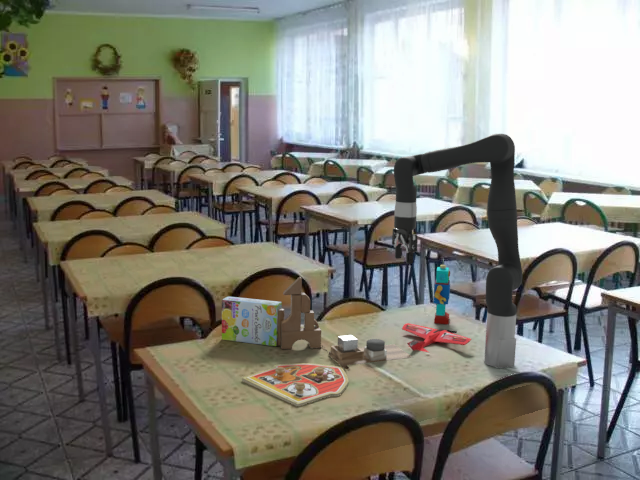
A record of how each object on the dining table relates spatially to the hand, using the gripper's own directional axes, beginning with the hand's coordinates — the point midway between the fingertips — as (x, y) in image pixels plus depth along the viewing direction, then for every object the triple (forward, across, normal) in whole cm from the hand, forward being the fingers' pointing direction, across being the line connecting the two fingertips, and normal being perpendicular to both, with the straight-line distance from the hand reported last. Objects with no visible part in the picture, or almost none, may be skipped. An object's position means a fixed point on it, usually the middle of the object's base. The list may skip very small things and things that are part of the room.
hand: (403, 260), depth 259 cm
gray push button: (+29, -13, +16) cm, 35 cm away
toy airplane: (+30, -6, -8) cm, 32 cm away
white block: (+29, -8, +24) cm, 38 cm away
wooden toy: (+30, +9, +36) cm, 47 cm away
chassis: (+30, -10, +16) cm, 36 cm away
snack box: (+30, +19, +49) cm, 61 cm away
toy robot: (+30, +20, -28) cm, 46 cm away
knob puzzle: (+31, -23, +44) cm, 58 cm away
